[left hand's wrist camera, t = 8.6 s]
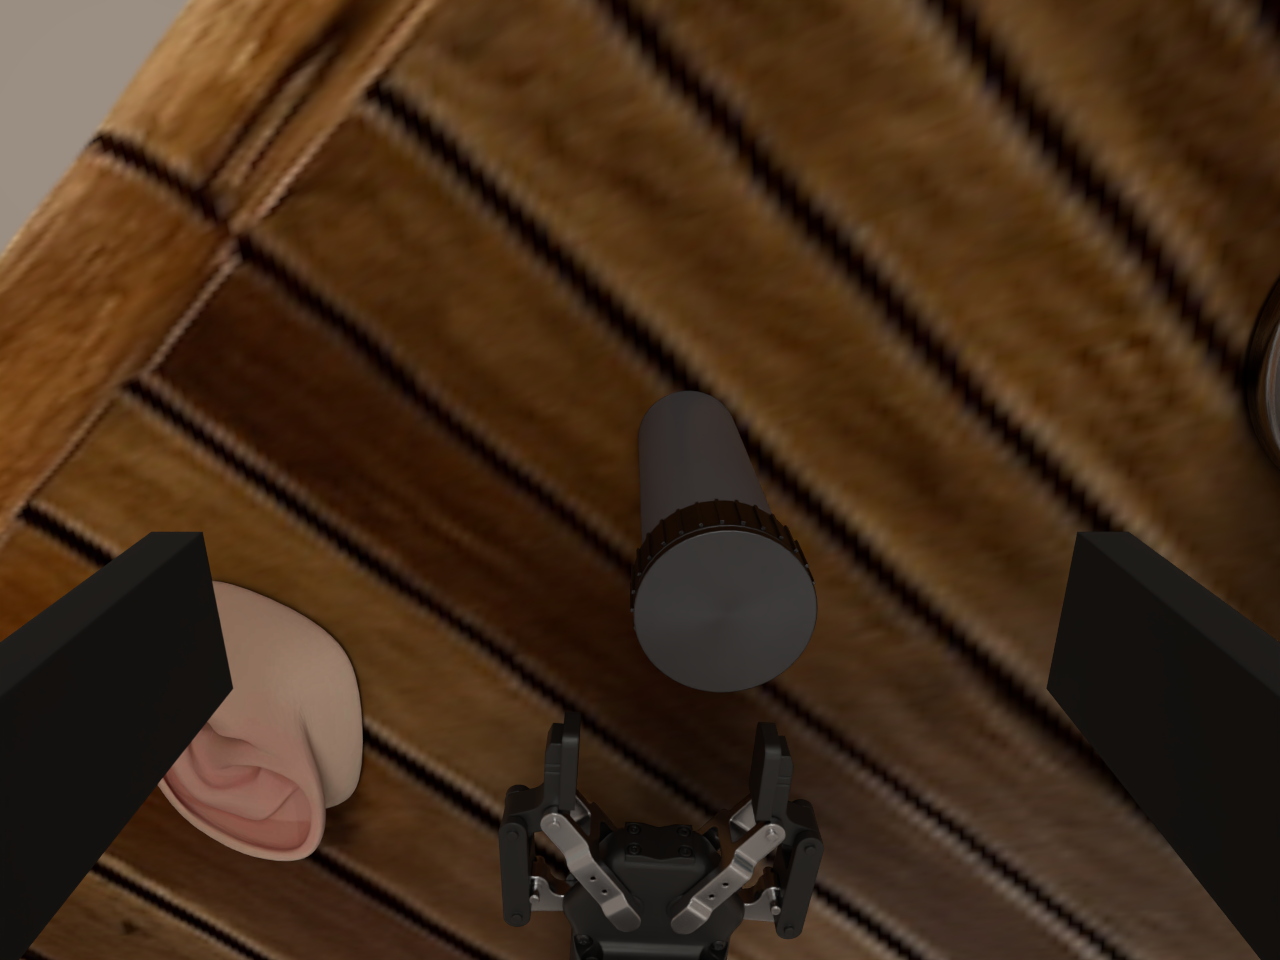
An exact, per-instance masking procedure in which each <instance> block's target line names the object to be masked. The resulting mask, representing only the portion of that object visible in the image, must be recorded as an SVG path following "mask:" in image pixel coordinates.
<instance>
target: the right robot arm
mask: <svg viewBox="0 0 1280 960" xmlns="http://www.w3.org/2000/svg"><path fill="white" fill-rule="evenodd" d="M580 723H581V712H569V711H565V718H564V724H562V723H553V724H552V726H551V728H550V730H549V732H548V738H547V744H546V751H545V773H544V783H543V784H542V785H540V786H539V787H536V788H533V789H529V788H528V787H526V786H524V785H514V786H512V787H510V788H509V789H508V791H507V793H506V798H505V809H504V814H503V819H502V821H501V824H500V829H499V848H500V864H501V881H502V897H503V913H504V920H505V921H506V923H508V924H509V925H511V926H515V927H520V926H524V925H526V924H527V923H528V922H529V920H530V916H531V911H563V912H564V914H565V916H566V918H567V919H568V920H569V922H570V924H571V927H572V930H571V947H570V960H727V955H728V948H729V940H730V937H731V935H732V933H733V931H734V930H735V929H736V928H737V927H738V926H739V925H740V924H741V922H742V920H743V919H748V920H759V921H770V922H775V928H776V932H777V934H778V936H780V937H781V938H784V939H793V938H795V937H797V936H799V935H800V934H801V932H802V929H803V925H804V921H805V917H806V914H807V910H808V906H809V903H810V899H811V895H812V891H813V888H814V884H815V880H816V877H817V873H818V869H819V865H820V862H821V858H822V854H823V851H824V846H823V842H822V839H821V835H820V832H819V828H818V825H817V821H816V818H815V814H814V811H813V807H812V805H811V803H810V802H808V801H807V800H803V799H799V800H795V801H793V802H790V801H788V797H789V791H790V784H791V777H792V773H793V763H792V759H791V756H790V752H789V748H788V745H787V742H786V738H785V736H778V733H777V729H776V725H775V723H763V722H759V723H758V725H757V731H756V738H755V745H754V752H753V759H752V766H751V773H750V780H749V789H750V794H749V795H748V796H746V797H745V798H744V799H743V800H742V801H741V802H740V803H738V804H737V805H736V806H735V807H734V808H733V809H732V810H730V811H728V810H727V809H722V810H721V811H719V812H718V813H717V814H716V815H715V816H714V817H713V818H711V819H710V820H709V821H708V822H707V823H706V824H705V825H704V826H702V827H701V828H700V829H699V830H698V831H697V832H695V831H692V825H670V826H663V827H655V826H652V825H648V824H644V823H634V822H626V823H625V827H624V828H620V829H617V828H616V827H615V825H614V824H613V823H612V822H611V821H610V819H609V818H608V817H607V816H606V815H605V814H604V812H603V811H602V810H601V809H600V808H599V806H598V805H597V804H596V803H594V802H593V803H591V804H590V803H588V802H587V800H586V799H585V798H584V797H583V796H582V794H581V793H580V792H579V791H578V790H577V789H576V788H577V776H578V758H579V741H580ZM539 831H544V833H545V834H546V835H547V836H548V837H549V838H550V839H551V841H552V842H553V843H554V844H555V845H556V846H557V847H558V848H559V850H560V851H561V852H562V853H563V854H564V856H565V858H566V862H567V866H568V868H569V870H570V872H569V873H568V875H567V876H566V879H565V881H563V880H558V879H556V878H555V877H554V876H553V875H552V874H551V871H550V868H549V866H548V865H546V864H545V863H544V858H543V857H542V856H536V857H535V844H534V832H539ZM777 846H778V848H777V852H776V856H775V860H774V864H773V868H772V867H765V868H764V869H763V874H764V875H762V876H761V877H760V878H759V880H758V882H757V883H756V885H754V886H753V887H751V888H748V889H742V887H741V886H743V885H744V884H745V883H746V882H747V881H748V880H749V879H750V878H751V876H752V874H753V871H754V867H755V865H756V864H757V863H758V862H759V861H760V860H761V859H762V858H764V857H765V856H766V855H767V854H768V853H770V852H771V851H772V850H773V849H774V848H775V847H777ZM719 849H720V851H721V856H720V855H719V854H718V853H717V851H718V850H719Z"/></svg>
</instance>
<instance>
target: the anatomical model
mask: <svg viewBox="0 0 1280 960" xmlns="http://www.w3.org/2000/svg"><path fill="white" fill-rule="evenodd" d="M212 582H213V588H214V593H215V598H216V603H217V608H218V613H219V618H220V623H221V628H222V633H223V638H224V643H225V648H226V653H227V659H228V664H229V669H230V674H231V679H232V684H233V690H232V691H231V692H230V694H229V695H228V696H227V697H226V699H225V700H224V701H223V702H222V704H221V705H220V706H219V707H218V709H217V710H216V711H215V713H214V714H213V715H212V716H211V718H210V719H209V720H208V721H207V723H206V724H205V725H204V726H203V728H202V729H201V730H200V731H199V733H198V734H197V735H196V737H195V738H194V739H193V740H192V742H191V743H190V744H189V745H188V747H187V748H186V749H185V750H184V752H183V753H182V754H181V756H180V757H179V758H178V759H177V761H176V762H175V763H174V764H173V766H172V767H171V768H170V769H169V771H168V772H167V773H166V774H165V776H164V777H163V778H162V780H161V781H160V782H159V783H158V786H159V787H160V789H161V790H162V792H163V793H164V795H165V796H166V797H167V799H168V800H169V801H170V803H171V804H172V805H173V806H174V807H175V808H176V809H177V810H178V812H179V813H180V814H181V815H182V816H183V817H184V818H186V819H187V820H188V821H189V822H190V823H191V824H193V825H194V826H195V827H196V828H198V829H199V830H201V831H202V832H204V833H205V834H207V835H208V836H210V837H212V838H213V839H215V840H217V841H219V842H220V843H222V844H224V845H226V846H228V847H230V848H232V849H234V850H237V851H239V852H242V853H245V854H248V855H251V856H254V857H259V858H263V859H269V860H276V861H293V860H299V859H302V858H305V857H307V856H309V855H310V854H311V853H313V852H314V851H315V850H316V848H317V847H318V845H319V844H320V842H321V839H322V836H323V833H324V829H325V822H326V808H329V807H333V806H336V805H338V804H340V803H342V802H344V801H345V800H346V799H348V798H349V797H350V796H351V795H352V793H353V792H354V790H355V789H356V787H357V784H358V781H359V777H360V771H361V765H362V747H363V732H362V715H361V705H360V697H359V691H358V686H357V681H356V676H355V673H354V670H353V667H352V665H351V663H350V660H349V658H348V656H347V655H346V653H345V652H344V650H343V649H342V647H341V646H340V645H339V644H338V643H337V641H336V640H335V639H334V638H333V637H332V636H331V635H330V634H328V633H327V632H326V631H325V630H324V629H322V628H321V627H320V626H318V625H317V624H315V623H314V622H312V621H311V620H310V619H308V618H307V617H305V616H303V615H301V614H300V613H298V612H296V611H294V610H293V609H291V608H289V607H287V606H285V605H282V604H280V603H278V602H276V601H274V600H272V599H270V598H267V597H265V596H262V595H260V594H258V593H255V592H253V591H250V590H247V589H244V588H241V587H238V586H235V585H232V584H228V583H224V582H218V581H212Z"/></svg>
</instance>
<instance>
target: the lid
mask: <svg viewBox="0 0 1280 960" xmlns="http://www.w3.org/2000/svg"><path fill="white" fill-rule="evenodd" d="M808 567H809V565H808V563H807V561H806V559H805V556H804V554H803V552H802V550H801V548H800V545H799V543H798V541H797V540H795V541H794V540H793V537H792V535H791V533H790V531H789V528H788V527H787V526H783V525H782V524H781V523H780V522H779V521H778V520H777V519H776V518H775V515H774V514H772V513H771V514H768V513H766V512H765V511H763V510H761V509H759V508H758V506H757V505H755V504H754V506H751V505H749V504H745V503H741V502H739V501H738V500H735V501H727V500H718V499H715V500H714V501H707V502H701V503H698V501H697V502H695V504H693V505H690V506H688V507H685V508H682V509H679V508H678V509H676V512H675V513H673V514H671V515H670V516H668V517H667V518H665V519H664V520H663V519H661V520H660V521H659V524H658V525H657V526H656V527H655V528H654V529H653V530H652V531H651V533H649V532H648V533H647V534H646V539H645V541H644V543H643V544H642V546H641V548H640V549H639V548H638V549H637V558H636V561H635V565H632V567H631V583H630V610H631V612H633V624H634V630H635V632H636V635H637V638H638V641H639V643H640V645H641V647H642V649H643V651H644V652H645V654H646V655H647V657H648V658H649V660H650V661H651V662H652V663H653V664H654V665H655V666H656V667H657V668H658V669H659V670H660V671H661V672H663V673H664V674H665V675H667V676H668V677H670V678H671V679H673V680H674V681H676V682H678V683H681V684H683V685H685V686H688V687H691V688H694V689H698V690H703V691H709V692H734V691H741V690H745V689H750V688H753V687H756V686H759V685H761V684H764V683H766V682H768V681H770V680H772V679H773V678H775V677H777V676H778V675H780V674H781V673H783V672H784V671H785V670H786V669H788V668H789V667H790V666H791V665H792V664H793V663H794V662H795V661H796V660H797V659H798V658H799V656H800V655H801V654H802V652H803V651H804V650H805V648H806V646H807V644H808V642H809V641H810V639H811V636H812V633H813V631H814V628H815V623H816V619H817V596H816V592H815V587H814V585H815V581H814V579H813V577H812V575H811V572H810V570H809V568H808Z"/></svg>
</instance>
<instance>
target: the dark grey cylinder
mask: <svg viewBox="0 0 1280 960" xmlns="http://www.w3.org/2000/svg"><path fill="white" fill-rule="evenodd" d="M638 443H639V473H640V502H641V531H642V544H643V543H644V541H645V539H646V534H647V533H648V532H649V533H651V531H652V530H653V529H654V528H655V527H656V526H657V525H658V524H659V521H660V520H661V519H663V520H664V519H665V518H667V517H668V516H670V515H671V514H673V513H675V512H676V509H678V508H679V509H682V508H685V507H688V506H690V505H693V504H695V502H697V501H698V503H701V502H707V501H714V500H715V499H718V500H727V501H735V500H738V501H739V502H741V503H745V504H749V505H751V506H754V504H755V505H757V506H758V508H759V509H761V510H763V511H765V512H766V513H768V514H771V513H772V512H771V510H770V507H769V505H768V503H767V500H766V498H765V495H764V493H763V491H762V488H761V486H760V483H759V481H758V479H757V476H756V474H755V471H754V469H753V466H752V464H751V462H750V459H749V457H748V454H747V452H746V450H745V447H744V445H743V442H742V440H741V438H740V435H739V433H738V430H737V428H736V425H735V423H734V421H733V418H732V416H731V415H730V413H729V411H728V410H727V409H726V407H725V406H724V405H723V404H722V403H721V402H719V401H718V400H717V399H715V398H713V397H712V396H710V395H707V394H705V393H701V392H696V391H681V392H676V393H672V394H670V395H667V396H665V397H663V398H662V399H660V400H659V401H657V402H656V403H655V404H654V405H653V406H652V407H651V408H650V409H649V410H648V411H647V413H646V414H645V416H644V418H643V420H642V422H641V425H640V429H639V435H638Z"/></svg>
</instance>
